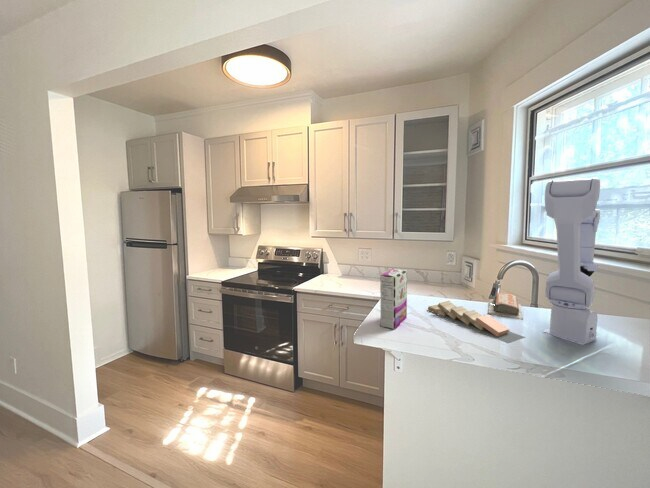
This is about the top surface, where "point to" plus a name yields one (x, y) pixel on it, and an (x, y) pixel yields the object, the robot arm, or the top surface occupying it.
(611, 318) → the top surface
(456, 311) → the domino
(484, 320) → the domino
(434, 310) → the domino
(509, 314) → the packaged product
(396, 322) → the candy bar box
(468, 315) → the light brown flat block
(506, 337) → the slate mat
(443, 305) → the domino
